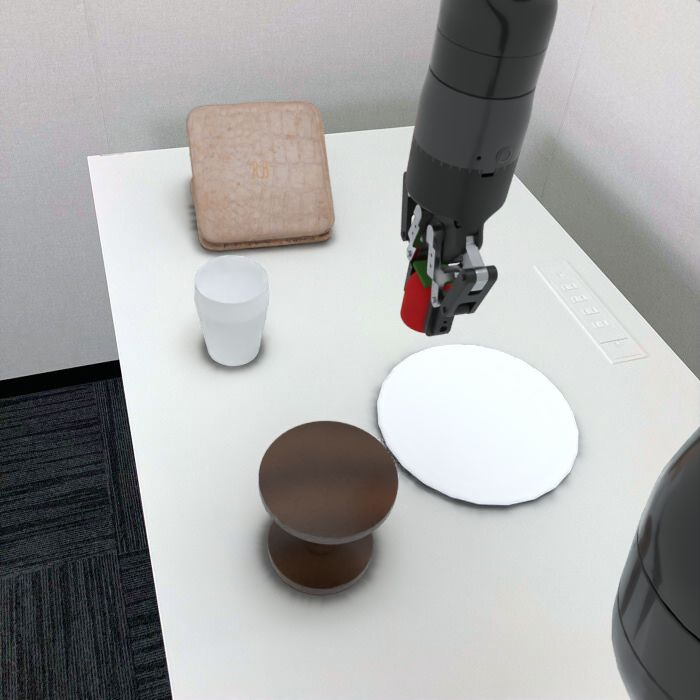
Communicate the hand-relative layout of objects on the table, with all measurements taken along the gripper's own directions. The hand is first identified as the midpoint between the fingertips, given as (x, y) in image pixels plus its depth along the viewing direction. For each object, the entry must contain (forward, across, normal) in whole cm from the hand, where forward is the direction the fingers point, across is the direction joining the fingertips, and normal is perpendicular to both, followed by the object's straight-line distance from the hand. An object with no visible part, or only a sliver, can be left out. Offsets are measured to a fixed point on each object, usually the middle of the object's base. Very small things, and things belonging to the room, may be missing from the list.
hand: (425, 312), depth 63 cm
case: (+29, -54, -3) cm, 61 cm away
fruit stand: (+28, +5, -9) cm, 30 cm away
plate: (+28, -6, +14) cm, 32 cm away
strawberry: (0, 0, 0) cm, 0 cm away
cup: (+28, -25, -12) cm, 40 cm away
